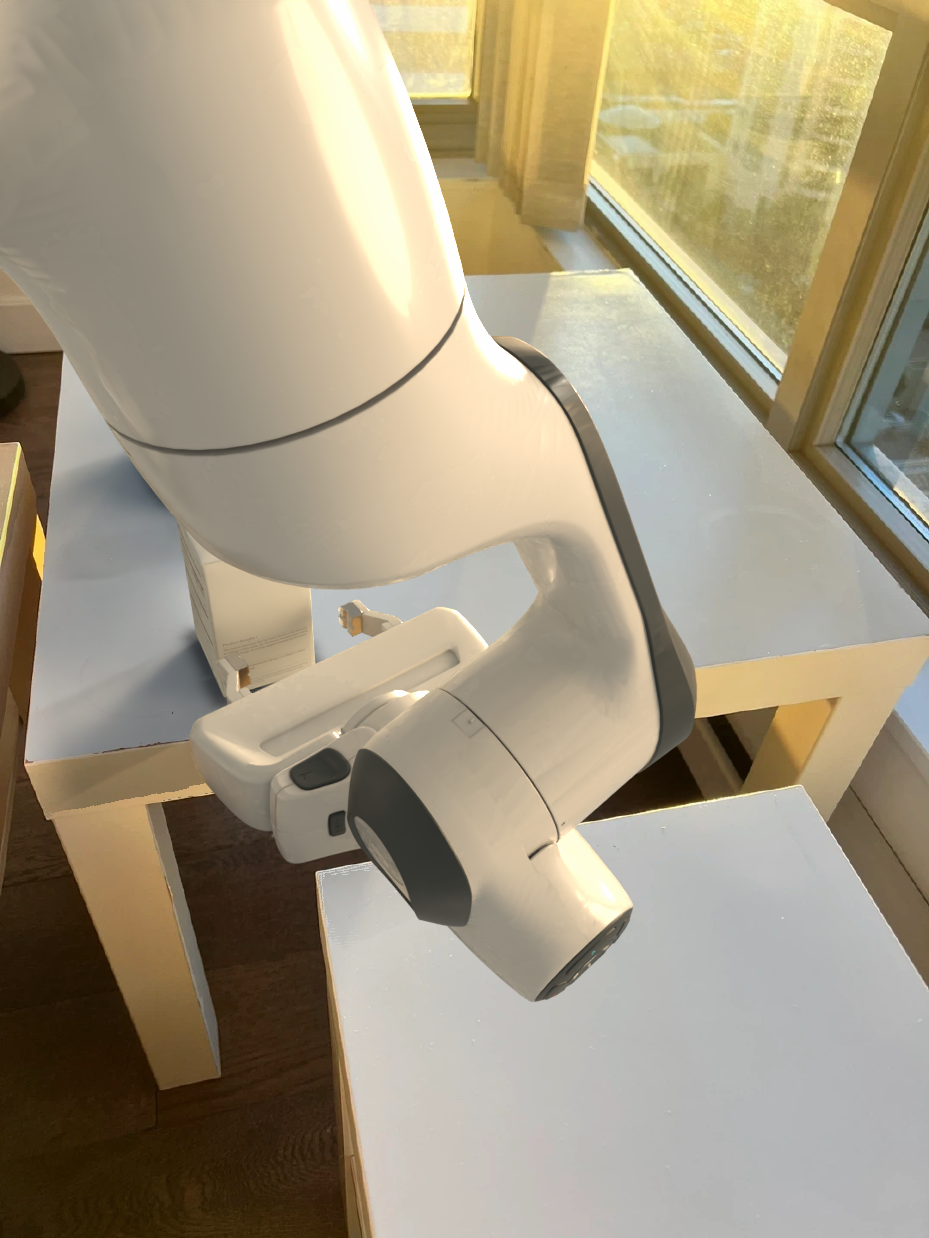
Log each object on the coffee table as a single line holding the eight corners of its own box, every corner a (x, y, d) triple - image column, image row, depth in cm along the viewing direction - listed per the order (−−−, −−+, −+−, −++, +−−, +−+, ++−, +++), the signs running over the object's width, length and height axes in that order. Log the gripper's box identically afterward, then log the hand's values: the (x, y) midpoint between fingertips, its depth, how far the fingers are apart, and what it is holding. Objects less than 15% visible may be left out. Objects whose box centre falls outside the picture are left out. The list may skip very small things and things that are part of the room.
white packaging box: (285, 612, 77) (275, 480, 69) (317, 673, 72) (310, 539, 64) (193, 636, 74) (171, 501, 66) (220, 700, 69) (199, 565, 61)
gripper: (541, 658, 61) (412, 547, 69) (257, 812, 51) (142, 661, 59) (530, 724, 65) (410, 612, 73) (265, 878, 55) (157, 730, 63)
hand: (288, 635), depth 66 cm, fingers open, 8 cm apart
